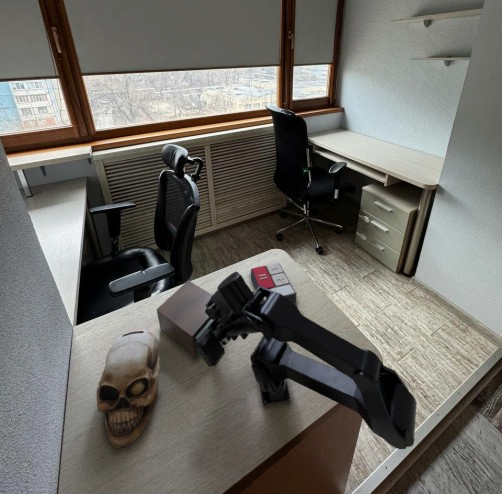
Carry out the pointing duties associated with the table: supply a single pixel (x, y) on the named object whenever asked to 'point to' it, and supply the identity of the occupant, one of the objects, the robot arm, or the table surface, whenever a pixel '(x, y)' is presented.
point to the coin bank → (129, 385)
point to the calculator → (273, 280)
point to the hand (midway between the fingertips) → (212, 326)
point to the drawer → (205, 328)
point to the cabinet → (184, 316)
